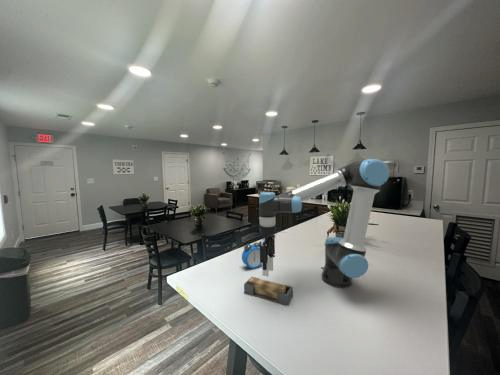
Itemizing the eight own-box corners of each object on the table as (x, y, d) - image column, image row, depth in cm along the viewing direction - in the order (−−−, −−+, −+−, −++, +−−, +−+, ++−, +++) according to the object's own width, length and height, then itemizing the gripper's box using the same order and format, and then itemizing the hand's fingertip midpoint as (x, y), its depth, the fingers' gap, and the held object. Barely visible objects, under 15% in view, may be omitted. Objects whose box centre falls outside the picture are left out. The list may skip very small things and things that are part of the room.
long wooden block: (286, 295, 94) (285, 285, 94) (283, 300, 91) (283, 289, 90) (252, 286, 103) (251, 277, 102) (248, 290, 99) (248, 280, 99)
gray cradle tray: (292, 296, 95) (292, 286, 95) (287, 306, 88) (287, 295, 87) (251, 285, 105) (251, 276, 105) (244, 293, 98) (244, 283, 98)
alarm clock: (246, 271, 120) (245, 247, 119) (241, 267, 126) (241, 243, 125) (264, 266, 127) (264, 243, 126) (259, 262, 132) (259, 240, 131)
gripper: (267, 220, 104) (268, 263, 106) (251, 228, 88) (252, 280, 89) (281, 221, 101) (281, 266, 102) (267, 230, 85) (267, 284, 86)
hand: (267, 272), depth 96 cm, fingers open, 5 cm apart
